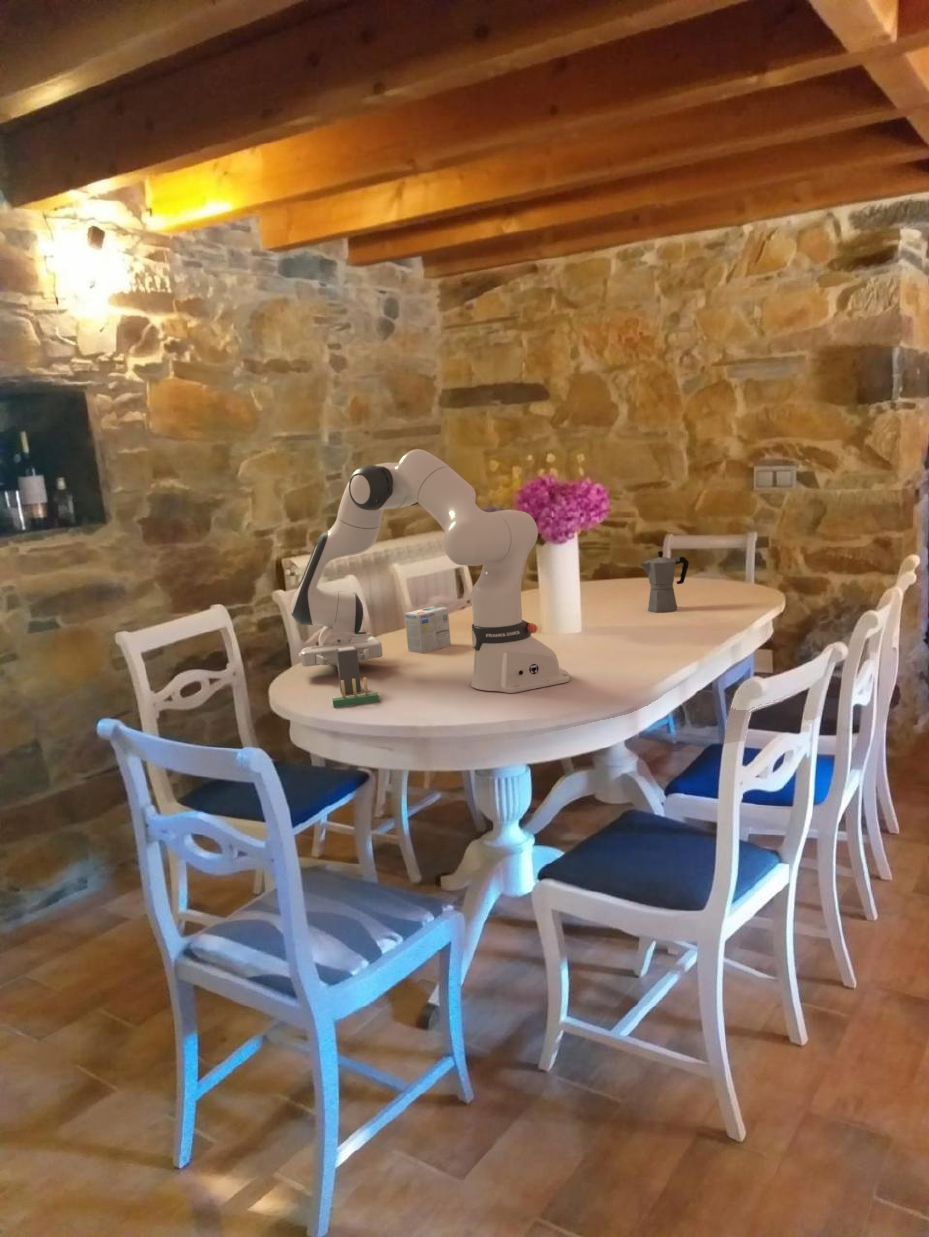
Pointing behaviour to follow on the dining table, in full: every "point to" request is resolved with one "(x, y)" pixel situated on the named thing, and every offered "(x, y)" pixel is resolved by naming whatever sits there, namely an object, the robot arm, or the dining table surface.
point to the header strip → (355, 696)
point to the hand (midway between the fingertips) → (344, 659)
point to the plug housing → (348, 668)
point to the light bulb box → (427, 629)
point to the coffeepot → (663, 582)
